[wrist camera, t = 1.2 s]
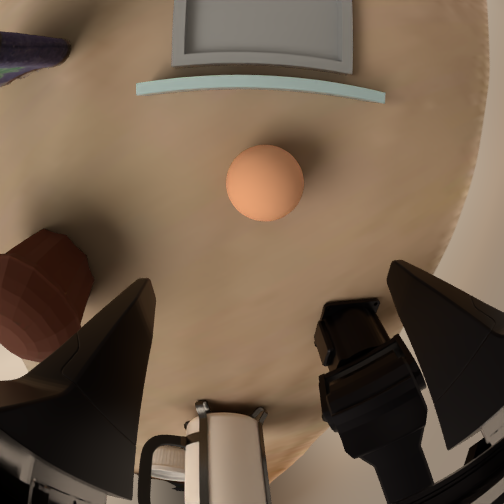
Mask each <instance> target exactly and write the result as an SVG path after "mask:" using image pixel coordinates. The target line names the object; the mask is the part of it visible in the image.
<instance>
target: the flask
mask: <svg viewBox="0 0 504 504" xmlns="http://www.w3.org/2000/svg"><path fill="white" fill-rule="evenodd" d="M70 47H71V45H70V41H68V40H66V39H61V38H59V39H57V38H51V37H45V36H37V35H28V34H20V33H13V32H0V87H2V86H5V85H9V84H11V83H10V82H12V81H13V80H16V79H19V78H20V79H22V78H25V77H26V76H29V75H30V74H31V73H32V72H33V71H36V70H37V71H38V72H39V71H40V70H41V69H42V68H48V69H49V68H51V67H55V66H60V65H61V64H62V63H63V62H64V61H65V60H66V59H67V58H68V57H69V53H70Z"/></svg>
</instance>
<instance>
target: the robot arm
mask: <svg viewBox="0 0 504 504" xmlns="http://www.w3.org/2000/svg"><path fill="white" fill-rule="evenodd" d="M387 285H388V287H389V290H390V293H391V295H392V298H393V301H394V304H395V307H396V309H397V312H398V315H399V317H400V319H401V322H402V324H403V326H404V328H405V331H406V333H407V335H408V337H409V340H410V342H411V345H412V347H413V349H414V351H415V354H416V357H417V359H418V362H419V364H420V367H421V369H422V372H423V375H424V377H425V380H426V383H427V385H428V388H429V391H430V394H431V397H432V400H433V403H434V406H435V409H436V412H437V416H438V419H439V422H440V426H441V429H442V432H443V436H444V440H445V443H446V447H447V450H450V449H452V448H454V447H455V446H457V445H459V444H460V443H462V442H464V441H465V440H467V439H468V438H470V437H472V436H473V435H475V434H476V433H478V432H479V431H481V432H482V434H483V436H484V438H483V439H482V440H480V441H479V442H477V443H476V444H475V445H473V446H472V447H470V448H469V451H468V455H467V458H466V461H465V464H464V466H463V467H461V468H460V469H458V470H457V471H455V472H453V473H452V474H450V475H448V476H447V477H445V478H443V479H441V480H440V481H438V482H436V483H434V482H433V478H432V475H431V473H430V469H429V467H428V464H427V461H426V458H425V455H424V453H423V450H422V448H421V441H422V437H423V432H424V427H425V425H426V418H427V405H426V403H425V401H424V398H423V396H422V393H421V390H423V389H425V388H426V384H425V381H424V378H423V376H422V373H421V371H420V369H419V367H418V365H417V363H416V361H415V359H414V358H413V356H412V354H411V353H410V351H409V350H408V348H407V347H406V345H405V343H404V342H403V341H402V339H401V337H400V336H399V334H396V335H395V336H393V338H392V339H390V338H389V336H388V334H387V332H386V330H385V329H384V327H383V325H382V323H381V321H380V320H379V318H378V316H377V314H376V312H377V309H378V307H379V304H380V302H379V300H378V299H377V298H373V299H364V300H354V301H344V302H333V303H327V304H325V305H324V307H323V310H322V314H321V318H320V321H319V322H318V324H317V328H316V332H315V335H314V339H315V342H314V344H315V346H316V347H317V349H318V352H319V355H320V358H321V361H322V365H324V366H328V368H329V371H330V372H328V373H326V374H322V375H320V376H319V390H320V399H321V407H322V419H323V421H325V422H328V424H329V426H330V427H331V429H332V430H333V431H334V432H338V433H339V435H340V438H341V440H342V443H343V446H344V449H345V451H346V453H348V454H349V455H350V456H351V457H352V458H354V459H355V458H358V457H359V458H361V459H362V460H364V461H365V462H367V463H369V464H370V465H372V466H373V467H374V468H375V470H376V473H377V475H378V478H379V481H380V484H381V487H382V489H383V492H384V495H385V498H386V501H387V504H504V312H502V311H500V310H497V309H496V308H494V307H492V306H490V305H488V304H486V303H484V302H482V301H480V300H478V299H477V298H475V297H473V296H471V295H469V294H467V293H465V292H464V291H462V290H460V289H458V288H456V287H454V286H453V285H451V284H449V283H447V282H445V281H443V280H441V279H439V278H437V277H435V276H433V275H431V274H429V273H427V272H426V271H424V270H422V269H420V268H418V267H416V266H413V265H411V264H409V263H407V262H405V261H403V260H394V261H392V263H391V265H390V269H389V272H388V276H387ZM155 306H156V297H155V293H154V290H153V287H152V283H151V281H150V279H149V278H139V279H137V280H136V281H135V282H134V283H133V284H131V285H130V286H129V287H128V288H127V289H125V290H124V291H123V292H122V293H121V294H119V295H118V296H117V297H116V298H115V299H114V300H112V301H111V302H110V303H109V304H108V305H107V306H105V307H104V308H103V309H102V310H101V311H100V312H99V313H97V314H96V315H95V316H94V317H93V318H92V319H91V320H89V321H88V322H87V323H86V324H85V325H84V326H83V327H82V328H80V329H79V330H78V331H77V333H75V334H74V335H73V336H72V337H70V338H69V339H68V340H67V341H66V342H65V343H64V344H63V345H61V346H60V347H59V348H58V349H57V350H56V351H54V352H53V353H52V354H51V355H49V356H48V357H47V358H46V359H44V360H43V361H42V362H41V363H39V364H38V365H37V366H36V367H34V368H33V369H32V370H31V371H29V372H28V373H27V374H26V375H24V376H22V377H21V378H18V379H15V380H8V381H0V504H106V500H107V495H110V496H114V497H118V498H123V499H127V500H132V496H133V477H134V464H135V453H136V446H135V445H136V441H137V432H138V424H139V416H140V409H141V402H142V395H143V389H144V383H145V377H146V371H147V365H148V360H149V354H150V349H151V344H152V338H153V327H154V316H155Z"/></svg>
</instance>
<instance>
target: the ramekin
mask: <svg viewBox="0 0 504 504" xmlns="http://www.w3.org/2000/svg"><path fill="white" fill-rule="evenodd" d="M185 452H186V451H185V450H184V449H180V448H176V447H169V446H160V447H158V448H157V449H156V450H155V451H154V453H153V458H152V470H151V476H153V477H157V478H161V479H166V480H173V481H185Z"/></svg>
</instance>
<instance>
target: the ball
mask: <svg viewBox="0 0 504 504" xmlns="http://www.w3.org/2000/svg"><path fill="white" fill-rule="evenodd" d="M226 188H227V192H228V196H229V198H230V200H231V202H232V204H233V205H234V206H235V208H236V209H237V210H238V211H239V212H240V213H242V214H243V215H245V216H246V217H248V218H251V219H253V220H257V221H273V220H277V219H280V218H282V217H284V216H286V215H287V214H289V213H290V212H291V211H292V210H293V209H294V208H295V207H296V206H297V204H298V203H299V201H300V199H301V197H302V193H303V188H304V178H303V173H302V170H301V168H300V166H299V164H298V162H297V161H296V160H295V158H294V157H293V156H292V155H291V154H290V153H288V152H287V151H285V150H283V149H281V148H279V147H276V146H272V145H258V146H254V147H250V148H248V149H246V150H245V151H243V152H241V153H240V154H239V155H238V156H237V157H236V158H235V159H234V161H233V162H232V163H231V165H230V167H229V170H228V173H227V178H226Z"/></svg>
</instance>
